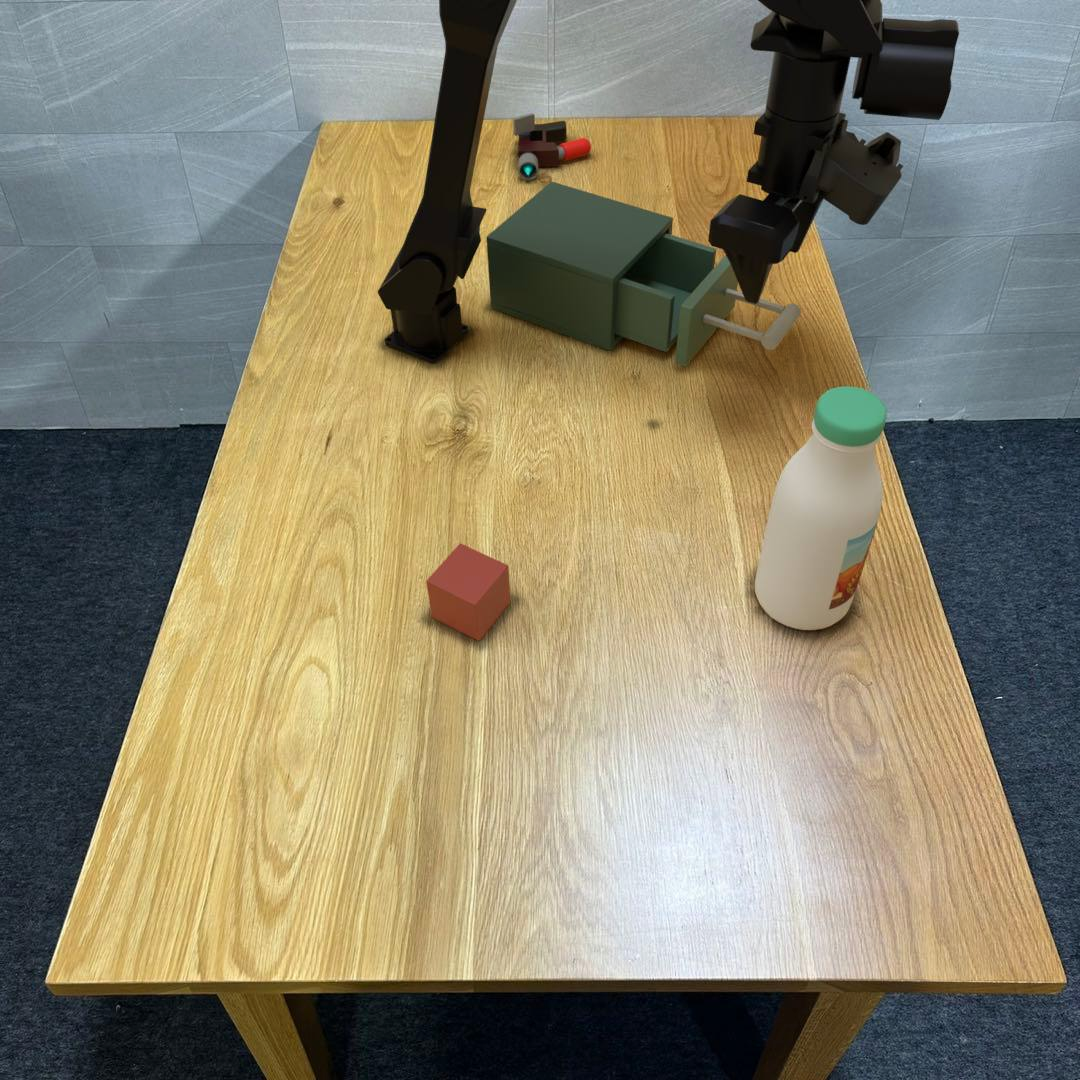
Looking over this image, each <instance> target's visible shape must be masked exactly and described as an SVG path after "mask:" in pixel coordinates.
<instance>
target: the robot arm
mask: <svg viewBox="0 0 1080 1080" xmlns="http://www.w3.org/2000/svg"><path fill="white" fill-rule="evenodd" d="M517 1H518V0H438V4H439V5H438V6H439V7H438V8H439V11H438V14H439V20H440V24H441V29H442V34H443V38H444V45H445V47H444V48H445V51H444V58H443V64H442V71H441V77H440V82H439V83H440V84H439V90H438V97H437V103H436V109H435V115H434V123H433V127H432V128H433V129H432V135H431V141H430V149H429V155H428V162H427V166H426V167H427V168H426V174H425V179H424V187H423V193H422V197H421V200H420V203H419V205H418V207H417V210H416V212H415V214H414V217H413V219H412V221H411V223H410V227H409V228H408V231H407V233H406V236H405V239H404V241H403V244H402V245H401V248H400V249H399V251H398V253H397V255H396V257H395V259H394V260H393V263H392V264H391V266H390V268H389V270H388V271H387V272H386V275H385V277H384V279H383V281H382V283H381V284H380V287H379V288H378V290H377V295H378V297H379V298H380V300H381V302H382V304H383V306H384V308H385V309H386V310H390V317H391V323H392V329H393V331H391V333H389V334H388V335H387V336H386V337H385V338H384V344H385V346H387V347H389V348H393V349H395V350H398V351H400V352H403V353H404V354H407V355H410V356H412V357H415V358H417V359H420V360H423V361H426V362H428V363H430V364H435V363H437V362H439V361H440V360H441V359H442V358H443V357H444V356H445V355H446V354H447V353H448V352H449V351H450V350H451V349H453V348H454V347H455V346H456V345H457V344H458V343H459V342H460V341H461V340H462V339H464V338H465V336H467V335H468V333H470V327H469V325H466V324H464V323H463V322H462V321H463V320H462V319H463V318H462V309H461V303H458V297H457V288H456V287H455V284H456V283H457V280H458V278H459V279H461V280H464V279H465V277H466V275H467V273H468V271H469V268H470V267H471V264H472V262H473V260H474V257H475V256H476V253H477V251H478V249H479V246H480V245H481V242H482V238H481V233H480V232H481V225H482V222H483V219H484V217H485V215H486V212H487V208H485V207H479V206H474V204H473V200H472V197H471V187H472V181H473V177H474V172H475V171H474V170H475V165H476V161H477V156H478V151H479V150H478V149H479V144H480V140H481V134H482V130H483V126H484V119H485V114H486V108H487V102H488V98H489V94H490V88H491V83H492V77H493V73H494V67H495V63H496V57H497V52H498V46H499V44H500V42H501V41H500V40H501V39H502V36H503V34H504V31H505V29H506V27H507V25H508V22H509V20H510V18H511V15H512V13H513V11H514V8H515V6H516V3H517ZM757 2H759V3H760V4H761V5H762V6H764V7H765V8H766V9H768V10H769V11H771V12H770V13H769V14H768V15H767V16H765V17H763V18H762V19H760V20H759V21H757V22H756V23H755V24H754V25H753V28H752V33H751V39H750V48H751V50H753V51H758V52H770V53H771V52H772V53H773V57H772V62H771V63H772V64H771V69H770V77H769V84H768V90H767V98H766V103H765V108H764V109H765V110H764V113H763V114H762V115H760V116H759V118H757V120H755V122H754V127H753V135H755V136H759V137H760V143H759V149H758V155H757V160H756V161H755V163H754V164H752V166H751V167H750V168H749V169H748V170H747V177H746V183H749V184H753V185H757V186H760V190H761V191H763V192H764V193H766V194H767V195H766V197H765V198H764V199H759V198H755V197H753V196H752V197H751V196H748V195H745V194H742V193H740V194H737V195H736V196H734V197H733V198H731V199H730V200H728V201H727V202H726V203H725V204H724V205H723V206H722V207H721V208H720V210H719V211H717V213H716V214H715V215H714V216H713V217H712V218H711V219H710V220H709V221H710V223H709V231H708V238H707V241H708V243H709V244H710V247H713V248H716V249H720V250H722V251H723V253H724V255H726V256H727V258H728V260H729V262H730V264H731V266H732V269H733V271H734V273H735V276H736V278H737V281H738V285H739V288H740V290H741V291H740V292H741V293H743V296H744V298H745V300H746V301H747V302H750V303H753V304H757V303H758V301H759V299H761V297H762V294H763V292H764V289H765V286H766V284H767V281H768V278H769V277H770V276H769V275H770V273H771V270H772V267H773V265H778V264H779V263H781V262H782V261H784V260H785V258H786V257H787V256H788V255H789V254H790V252H791V253H794V254H796V253H798V252H799V251H800V249H801V247H802V246H803V243H804V241H805V238H806V237H807V234H808V233H809V230H810V228H811V226H812V224H813V222H814V220H815V217H816V216H817V214H818V211H819V209H820V207H821V205H822V204H823V201H826V202H827V203H829V204H830V205H832V206H833V207H835V208H836V209H838V210H840V211H841V212H842V213H844V214H845V215H847V216H848V218H849V220H850V221H851V222H853V223H854V224H857V225H859V226H866V225H868V224H869V223H870V222H871V220H872V219H873V217H875V215H876V213H877V212H878V210H880V208H881V207H882V205H883V203H884V202H885V201H886V200H887V198H888V196H889V195H890V194H891V192H892V191H893V190H894V189H895V187H896V186H897V184H898V183H899V181H900V180H901V179H902V172H901V170H902V169H903V167H904V165H903V164H902V163H899V160H900V154H901V148H902V147H901V146H902V141H901V139H899V138H898V137H896V136H895V135H893V134H892V133H890V132H889V131H886V132H884V133H882V134H880V135H879V136H877V137H875V138H873V139H871V140H870V141H869V142H868V143H867V140H865V139H864V138H861V139H860V140H859V139H858V137H857V136H856V134H855V132H852V131H848V130H847V128H848V124H849V120H848V119H846V116H847V113H843V112H841V107H842V102H843V97H844V93H845V88H846V87H845V86H846V82H847V78H848V72H849V67H850V63H851V59H852V58H857V62H856V66H855V72H854V77H853V78H854V79H853V85H852V91H851V99H853V100H860V103H859V110H863V114H864V115H872V116H873V115H874V116H886V117H898V118H909V119H911V118H912V119H922V120H934V121H940V120H941V119H942V117H943V115H944V113H945V110H946V107H947V104H948V100H949V98H950V94H951V90H952V72H953V68H954V62H955V54H956V46H957V42H958V39H959V36H960V31H959V30H960V29H959V22H958V21H957V20H956V19H945V18H942V19H941V18H939V19H932V20H917V19H906V18H905V19H901V18H888V17H883V3H882V1H881V0H757ZM866 143H867V144H866ZM897 164H898V165H897Z"/></svg>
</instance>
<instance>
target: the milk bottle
mask: <svg viewBox="0 0 1080 1080" xmlns="http://www.w3.org/2000/svg"><path fill="white" fill-rule="evenodd" d="M887 416H888V412H887V407H886V405H885V403H884V402H883V401H882V399H881V398H880V397H879V396H878V395H876V394H875V393H873V392H871V391H870V390H867V389H864V388H862V387H857V386H849V385H848V386H847V385H845V386H844V385H843V386H836V387H833V388H830V389H828V390H826V391H825V392H824V393H822V394H821V395H820V397H819V399H818V400H817V402H816V405H815V408H814V414H813V419H812V422H811V430H812V434H811V435H810V437H809V439H808V440H807V441H806V443H804V444H803V445H802V446H801V448H800V449H798V450H797V451H796V452H795V454H794V455H793V456H792V457H790V459H789V460H788V462H787V463H786V464H785V466H784V468H783V470H782V471H781V473H780V476H779V478H778V480H777V482H776V485H775V489H774V493H773V496H772V501H771V505H770V509H769V513H768V517H767V522H766V526H765V529H764V536H763V540H762V546H761V550H760V556H759V558H758V564H757V569H756V574H755V580H754V592H755V596H756V598H757V600H758V603H759V605H760V606H761V608H762V609H763V611H764V612H765V613H766V614H767V615H768V616H769V617H770V618H772V619H774V620H775V621H776V622H777V623H780V624H782V625H784V626H786V627H788V628H792V629H795V630H802V631H816V630H823V629H826V628H829V627H831V626H833V625H834V624H836V623H838V622H839V621H841V620H842V619H843V618H844V617H845V616H846V615H847V613H848V612H849V609H850V608H851V606H852V603H853V600H854V597H855V595H856V592H857V589H858V586H859V583H860V579H861V577H862V573H863V570H864V568H865V564H866V561H867V558H868V555H869V552H870V549H871V546H872V543H873V538H874V537H875V532H876V530H877V526H878V523H879V518H880V515H881V510H882V505H883V496H884V495H883V494H884V493H883V492H884V491H883V489H884V488H883V479H882V475H881V471H880V468H879V466H878V463H877V459H876V458H877V457H876V450H875V449H876V446H877V445H878V444H879V442H880V441H881V439H882V433H883V431H884V429H885V425H886V422H887Z"/></svg>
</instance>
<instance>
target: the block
mask: <svg viewBox="0 0 1080 1080" xmlns="http://www.w3.org/2000/svg"><path fill="white" fill-rule="evenodd" d="M509 570H510V568H509V565H508V564H506V563H504V562H501V561H500V560H498V559H495V558H493V557H491V556H489V555H488V554H485V553H482V552H481V551H479V550H476V549H474V548H472V547H470V546H468V545H465V544H464V543H461V542H459V544H458V545H457V546H456V547H455V548H454V549H453V550H452V551H451V552H450V554H449V555H448V556H447V557H446V558H445V559H444V561H442V563H441V564H440V565H439V566H438V567H437V568H436V569H435V571H434V572H433V573H432V574H431V575H430V576H429V577H428V578H427V579H426V581H425V582H426V589H427V595H428V602H429V607H430V614H431V618H432V619H434V620H435V621H437V622H440V623H442V624H444V625H445V626H448V627H450V628H451V629H454V630H456V631H457V632H460V633H462V634H464V635H465V636H467V637H470V638H472V639H474V640H475V641H477V642H480V641H481V640H482V639H483V637H484V636H486V633H487V632H488V631H489V630H490V628H491V627H492V626H493V625H494V624H495V623H496V621H497V620H498V619H499V618H500V616H501V615H502V614H503V612H504V611H505V610H506V609H507V608H508V606H509V605H510V604H511V602H512V599H511V585H510V584H511V583H510V571H509Z"/></svg>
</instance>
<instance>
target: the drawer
mask: <svg viewBox="0 0 1080 1080" xmlns="http://www.w3.org/2000/svg"><path fill="white" fill-rule="evenodd" d="M716 256H717V247H713V246H709V245H707V244H702V243H699V242H696V241H693V240H690V239H686V238H683V237H680V236H676V235H674V234H672V235H670V234H667V233H664V234H663V235H662V236H661V237H660V238H659V239H658V240H657V241H656V242H655V243H654V244H653V245H652V246H651V247H650V248H649V249H648V250H647V251H646V252H645V253H644V254H643V255H642V256H641V257H640V258H639V259H638V260H637V261H636V262H635V263H634V264H633V265H632V266H631V267H630V268H629V270H628V271H627V272H626V273H625V274H624V275H623V276H622V277H621V278H620V279H619V280H618V281H617V282H616V283H617V284H616V307H615V330H614V334H617V335H619V336H622V337H623V338H625V339H628V340H631V341H634V342H635V343H639V344H643V345H645V346H648V347H650V348H654V349H656V350H659V351H662V352H665V353H667V352H668V351H669V350H670V349H671V347H673V345H674V344H675V343H676V342H677V343H676V350H675V358H674V359H675V360H674V363H675V364H677V365H680V366H684V367H687V365H688V364H689V363H690V362H691V361H692V359H693V358H694V357H695V356H696V354H697V353H698V352H699V351H700V350H701V348H702V347H703V346H704V345H705V344H706V343H707V341H708V340H709V339H710V338H711V336H713V334H714V332H716V330H717V329H718V328H720V329H723V330H726V331H728V332H732V333H735V334H738V335H741V336H743V337H747V338H750V339H753V340H755V341H759V342H760V343H761V346H762V347H763V348H764V349H765V350H768V351H773V350H775V349H777V347H778V346H779V344H780V343H781V342H782V340H783V339H784V338H785V336H786V335H787V334H788V333H789V331H790V330H791V328H792V327H793V326H794V324H795V323H796V321H798V319H799V317H801V314H802V309H801V307H800V306H799V305H798V304H796V303H788V304H787V305H786V306H784V305H781V304H778V303H775V302H772V301H770V300H769V301H768V300H765V299H763V298H760V299H759V301H758V303H757V304H753V303H750V302H747V301H746V300H745V298H744V296H743V293H742V291H738V285H739V283H738V281H737V278H736V276H735V273H734V271H733V269H732V266H731V264H730V262H729V260H728V258H727V256H726V254H724V256H722V258H721V259H720V261H718V262H717V264H716ZM736 301H739V302H743V303H746V304H749V305H751V306H754V307H757V308H762V309H764V310H766V311H767V310H768V311H770V312H773V313H776V314H779V315H778V316H777V318H776V319H775V321H774V322H773V323H772V324H771V325H770V326H769V328H768V330H766V332H765V333H764V332H761V331H757V330H755V329H752V328H749V327H745V326H743V325H740V324H737V323H734V322H731V321H728V320H726V318H727V317H728V316H729V314H731V312H732V311H733V310H734V308H735V306H736Z"/></svg>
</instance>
